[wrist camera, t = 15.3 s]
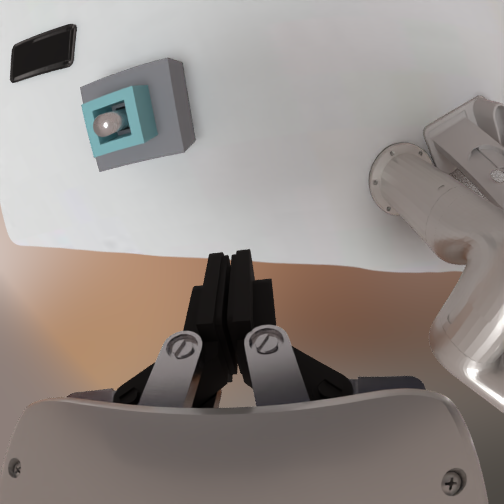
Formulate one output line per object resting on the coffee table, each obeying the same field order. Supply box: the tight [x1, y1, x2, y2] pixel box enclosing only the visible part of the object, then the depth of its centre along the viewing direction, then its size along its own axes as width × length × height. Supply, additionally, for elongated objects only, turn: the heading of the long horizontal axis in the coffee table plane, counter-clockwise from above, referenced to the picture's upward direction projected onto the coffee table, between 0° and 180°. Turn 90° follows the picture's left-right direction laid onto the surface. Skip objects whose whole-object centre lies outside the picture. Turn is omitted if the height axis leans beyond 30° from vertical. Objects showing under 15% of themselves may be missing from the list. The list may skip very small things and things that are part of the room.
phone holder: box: [423, 96, 504, 210], centre depth 29 cm, size 17×10×18 cm, turn 126°
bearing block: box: [80, 58, 196, 172], centre depth 33 cm, size 12×12×8 cm
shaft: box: [93, 108, 129, 137], centre depth 29 cm, size 2×2×14 cm
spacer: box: [81, 85, 158, 158], centre depth 27 cm, size 6×6×5 cm
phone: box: [10, 24, 77, 83], centre depth 28 cm, size 8×1×15 cm
